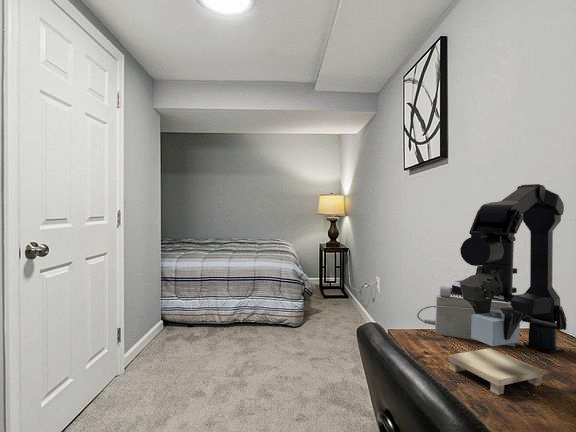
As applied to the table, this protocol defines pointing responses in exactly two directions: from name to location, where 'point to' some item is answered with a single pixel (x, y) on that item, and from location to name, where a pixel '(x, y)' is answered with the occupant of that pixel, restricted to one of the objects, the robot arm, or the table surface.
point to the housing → (491, 329)
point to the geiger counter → (456, 314)
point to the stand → (495, 368)
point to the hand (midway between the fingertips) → (494, 335)
